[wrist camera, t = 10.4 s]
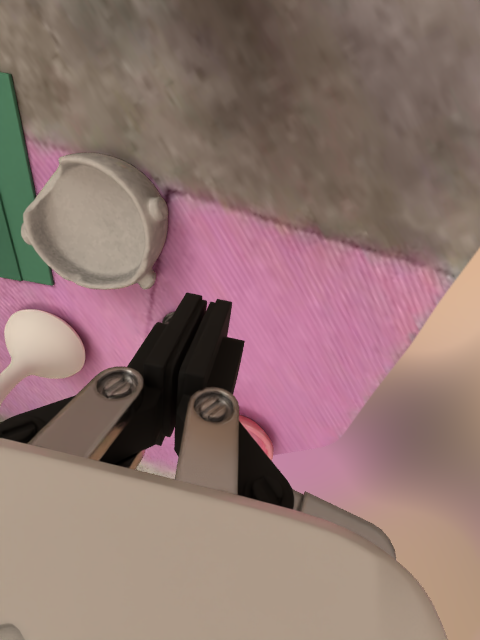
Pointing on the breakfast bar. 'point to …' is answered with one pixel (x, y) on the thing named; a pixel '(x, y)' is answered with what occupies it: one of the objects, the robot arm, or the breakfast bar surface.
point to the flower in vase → (39, 348)
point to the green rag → (16, 195)
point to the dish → (98, 223)
